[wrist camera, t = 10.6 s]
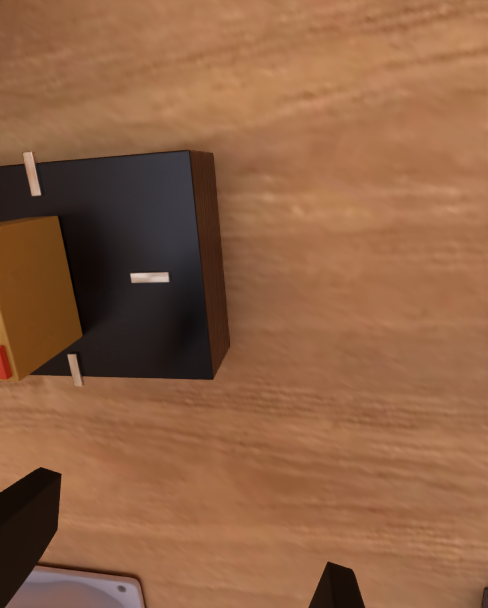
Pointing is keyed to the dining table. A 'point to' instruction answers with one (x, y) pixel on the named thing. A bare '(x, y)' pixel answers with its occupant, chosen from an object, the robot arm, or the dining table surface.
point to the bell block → (485, 599)
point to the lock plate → (133, 260)
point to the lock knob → (34, 296)
